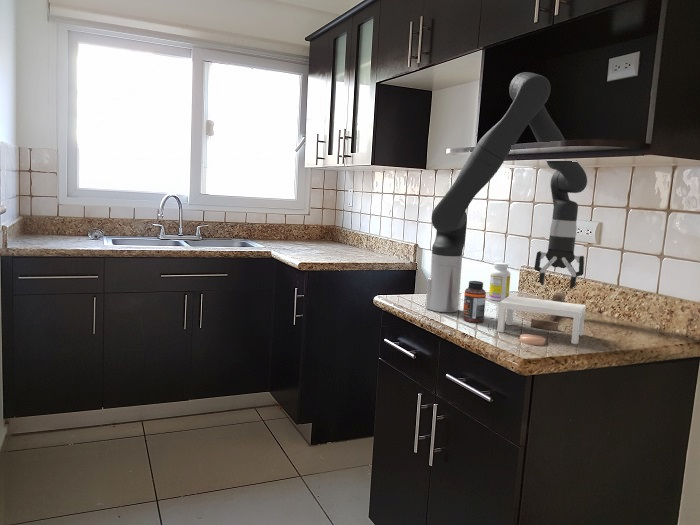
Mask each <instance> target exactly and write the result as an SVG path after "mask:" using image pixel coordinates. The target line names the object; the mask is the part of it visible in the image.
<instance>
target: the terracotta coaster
mask: <svg viewBox="0 0 700 525" xmlns="http://www.w3.org/2000/svg"><path fill="white" fill-rule="evenodd" d="M519 341H520V343H523V344H526V345H530V346H544V345H545V344H546V337H544V336H542V335H538V334H532V333H531V334H530V333H529V334H528V333H524V334H520V335H519Z"/></svg>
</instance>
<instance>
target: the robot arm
mask: <svg viewBox="0 0 700 525" xmlns="http://www.w3.org/2000/svg"><path fill="white" fill-rule="evenodd" d="M508 88H509V89H508V90H509V92H508V93H509V96H510V98H511V99H512V103H511V104H510V106H509V108H508V110H507V111H506V113H505V114H504V115H503V117H502V118H501V119H500V120H499V121H497V123H496V124H495V125H493V126H492V127H491V128H490V129H489V130H488V131H486V133H485V134H484V135H483V136H482V137H481V138H480V139H479V141H478V142H477V144H475V146H474V148H473V149H472V151H471V153H470V155H469V157H468V158H467V160H466V161H465V163H464V164H463V166H462V168H461V169H460V171H459V173H458V175H457V176H456V179H455V181H454V182H453V183H452V185H451V187H450V188H449V189H448V191H447V192H446V193H445V195H444V196H443V197H442V198H441V200H439V202H438V203H437V204H436V206H435V207H434V208H433V211H432V214H431V218H430V219H431V224H432V226H433V228H434V229H435V230H436V233H435V234H436V235H435V239H434V242H433V244H432V247H431V263H430V277H428V278H427V289H426V303H425V304H426V306H425V308H426V310H430V311H433V312H440V313H457V312H458V311H459V306H460V293H461V292H460V290H461V278H462V277H461V275H462V262H463V253H464V252H463V250H464V247H465V242H466V235H467V234H466V233H467V225H468V224H467V222H468V221H467V220H468V218H467V217H468V216H467V209H468V207H469V206H470V204H471V202H472V201H473V199H474V198H475V196H477V194H478V193H479V192H480V191H481V190H482V189H484V187H486V185H487V184H488V183H489V182H490V181H491V180H492V179H493V177H494V176H495V175H496V174H497V172H498V171H499V169H500V168H501V166H502V165H503V164H504V162H505V160H506V159H507V157H508V155H510V153H511V151H510V149H511V145H514V146H515V145H516V143H517V142H518V140H519V138H520V137H521V135H522V133H523V132H524V131H525V130H526V128H527V127H528V125H529V128H530V129H531V131H532V134H533V135H534V137H535V140H536V141H537V143H538V142H550V141H561V140H565V141H566V139H565V138H564V136H563V134H562V132H561V131H560V129H559V127H558V126H557V125H556V123H555V122H554V120H553V118H552V117H551V116H550V114H549V113H548V110H547V108H546V106H545V104H546V103H547V101H548V99H549V97H550V95H551V89H552V88H551V83H550V81H549V79H548V78H547V77H545V76H543V75H541V74H539V73H534V72H529V71H527V72H525V71H524V72H520V73H518V74H516V75H515V76H514V77H513V78H512V80H511V81H510V84H509V87H508ZM511 150H512V149H511ZM545 161H546V160H545ZM546 163H547V166H548V167H549V168H550V169H551V170H556V171H554V173H553V174H552V176H551V179H550V193H551V198H552V204H553V210H552V218H551V219H552V220H551V224H550V228H549V237H548V238H549V239H548V247H547V252H544V251H540V250H539V251H537V252H536V257H535V262H534V267H533V269H534V271H537V272H538V273H539V277H538V282H539V284H540V286H544V285H545V279H546V271H547V270H548V269H549V268H550V267H553V268H561V269H565V268H566V269H567V271H569V274H571V276H570V282H569V290H572V289H573V288H575V287H576V284H577V278H578V277H582V276H583V275H584V274H585V273H584V271H585V256H584V255H575V246H576V245H575V244H576V236H577V220H578V212H579V205H578V202H576V201H574V200H571V199H570V196H569V193H570V194H579V193H581V192H584V191H585V189H586V188H587V184H588V176H587V173H586V171H585V170H584V168H583V167H582V166H581V164H580V163H579V162H578V161H577V162H572V161H546ZM544 258H546V259H547V263H546V264H544V266H543V267H541V261H542V260H543V259H544ZM575 260H576V263H577V264H578V271H576V270H575V268H574V266H573V265H572V263H573V261H575Z"/></svg>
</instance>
